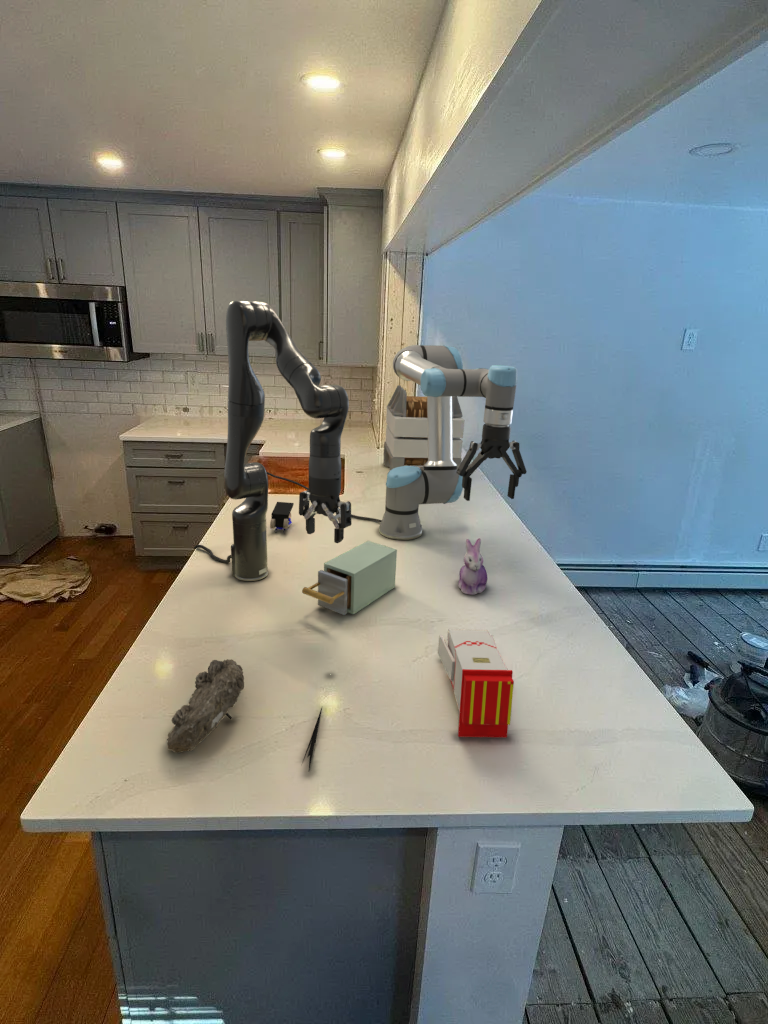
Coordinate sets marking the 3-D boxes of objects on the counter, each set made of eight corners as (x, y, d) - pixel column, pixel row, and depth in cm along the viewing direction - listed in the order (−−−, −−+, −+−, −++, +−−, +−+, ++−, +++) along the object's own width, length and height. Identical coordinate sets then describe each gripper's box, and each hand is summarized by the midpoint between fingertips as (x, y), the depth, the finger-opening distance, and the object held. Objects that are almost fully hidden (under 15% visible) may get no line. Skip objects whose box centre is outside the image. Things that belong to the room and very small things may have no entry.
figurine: (469, 599, 156) (474, 549, 151) (448, 583, 165) (453, 535, 160) (496, 592, 161) (502, 544, 156) (475, 577, 169) (480, 531, 164)
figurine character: (289, 539, 194) (294, 519, 208) (288, 519, 191) (294, 500, 204) (269, 538, 194) (276, 518, 208) (268, 518, 191) (275, 499, 204)
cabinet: (353, 614, 146) (354, 573, 142) (323, 602, 151) (323, 563, 147) (394, 586, 162) (397, 549, 158) (366, 577, 167) (368, 540, 163)
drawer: (329, 625, 139) (329, 589, 136) (302, 613, 144) (302, 579, 140) (385, 589, 158) (386, 557, 155) (359, 579, 163) (360, 548, 159)
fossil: (192, 660, 117) (244, 628, 112) (224, 691, 120) (276, 661, 115) (142, 746, 98) (202, 712, 93) (182, 779, 101) (242, 748, 96)
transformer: (382, 463, 289) (386, 382, 275) (445, 464, 293) (451, 384, 279) (390, 482, 257) (394, 392, 243) (460, 483, 261) (468, 394, 247)
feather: (331, 679, 122) (336, 673, 122) (307, 777, 96) (313, 769, 95) (324, 675, 122) (329, 669, 121) (298, 772, 95) (304, 764, 95)
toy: (488, 613, 130) (523, 677, 101) (484, 667, 133) (517, 744, 104) (435, 612, 130) (455, 676, 101) (432, 666, 133) (451, 743, 103)
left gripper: (290, 470, 132) (291, 535, 137) (339, 482, 124) (337, 550, 130) (312, 464, 138) (312, 526, 143) (359, 475, 130) (357, 540, 136)
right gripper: (459, 427, 147) (452, 504, 155) (545, 426, 154) (534, 500, 161) (449, 421, 154) (442, 495, 161) (532, 421, 160) (522, 492, 168)
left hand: (324, 537), depth 137 cm, fingers open, 8 cm apart
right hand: (488, 498), depth 161 cm, fingers open, 13 cm apart
